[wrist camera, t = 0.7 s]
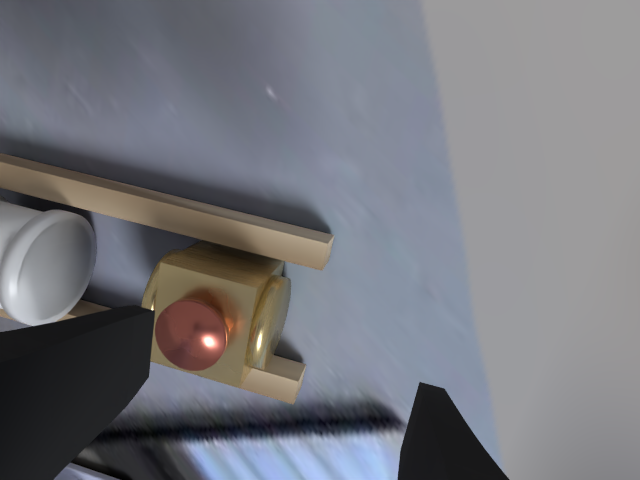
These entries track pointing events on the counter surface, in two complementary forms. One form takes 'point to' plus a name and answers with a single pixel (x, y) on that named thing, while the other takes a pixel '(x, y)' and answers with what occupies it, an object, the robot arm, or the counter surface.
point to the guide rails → (183, 219)
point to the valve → (217, 310)
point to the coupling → (43, 262)
